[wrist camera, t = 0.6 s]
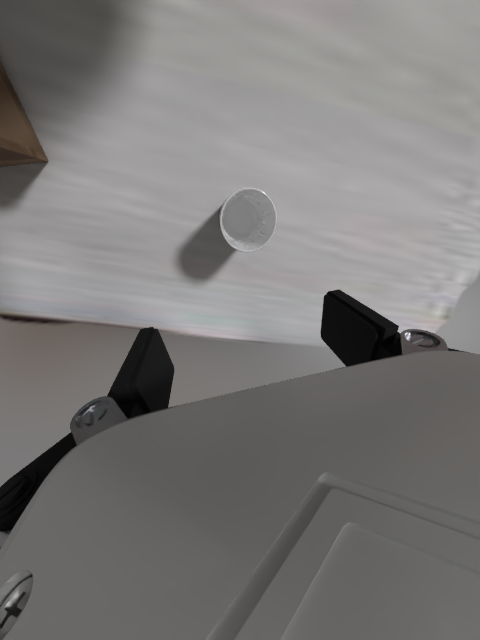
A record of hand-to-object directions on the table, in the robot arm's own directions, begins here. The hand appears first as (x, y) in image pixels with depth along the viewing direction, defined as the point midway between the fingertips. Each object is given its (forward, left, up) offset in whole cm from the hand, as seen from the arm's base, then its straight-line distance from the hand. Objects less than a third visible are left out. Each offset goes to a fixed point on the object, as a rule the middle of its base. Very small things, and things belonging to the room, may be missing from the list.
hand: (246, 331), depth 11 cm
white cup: (-4, +5, -30) cm, 31 cm away
